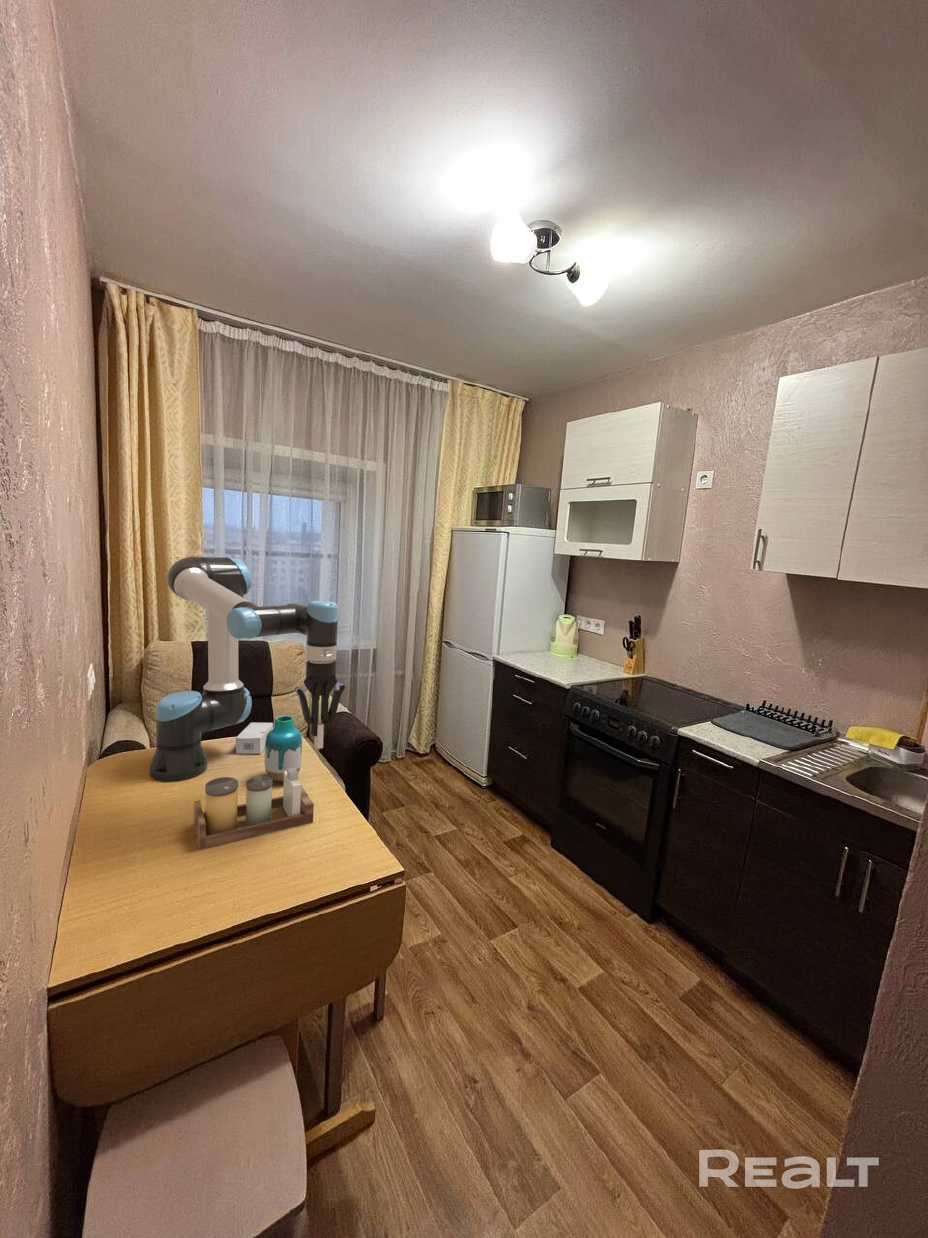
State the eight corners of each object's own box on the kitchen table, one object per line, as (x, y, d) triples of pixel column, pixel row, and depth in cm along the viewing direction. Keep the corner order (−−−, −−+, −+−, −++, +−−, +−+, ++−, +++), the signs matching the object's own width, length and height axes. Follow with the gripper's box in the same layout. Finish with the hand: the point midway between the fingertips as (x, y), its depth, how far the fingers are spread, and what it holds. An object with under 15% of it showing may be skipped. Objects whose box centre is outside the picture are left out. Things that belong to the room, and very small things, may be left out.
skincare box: (235, 737, 161) (249, 721, 176) (235, 755, 162) (249, 737, 177) (262, 737, 163) (273, 721, 177) (262, 755, 164) (273, 737, 178)
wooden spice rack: (194, 823, 122) (194, 801, 121) (300, 800, 137) (300, 780, 136) (199, 849, 112) (199, 825, 112) (313, 822, 127) (313, 800, 126)
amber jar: (203, 827, 121) (203, 780, 120) (234, 820, 125) (235, 775, 124) (206, 842, 115) (207, 793, 114) (239, 834, 119) (240, 787, 118)
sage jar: (243, 818, 126) (243, 778, 124) (268, 813, 129) (269, 774, 128) (247, 831, 121) (248, 789, 119) (274, 825, 124) (275, 784, 123)
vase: (306, 773, 153) (308, 714, 151) (291, 789, 143) (293, 726, 140) (274, 769, 154) (275, 710, 152) (257, 784, 144) (258, 722, 141)
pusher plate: (282, 806, 133) (284, 764, 131) (290, 804, 134) (291, 763, 132) (291, 823, 125) (293, 779, 124) (299, 821, 126) (301, 777, 125)
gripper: (300, 665, 121) (297, 756, 124) (350, 662, 128) (347, 747, 131) (291, 658, 127) (289, 745, 130) (340, 655, 134) (337, 738, 137)
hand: (318, 746), depth 131 cm, fingers closed
